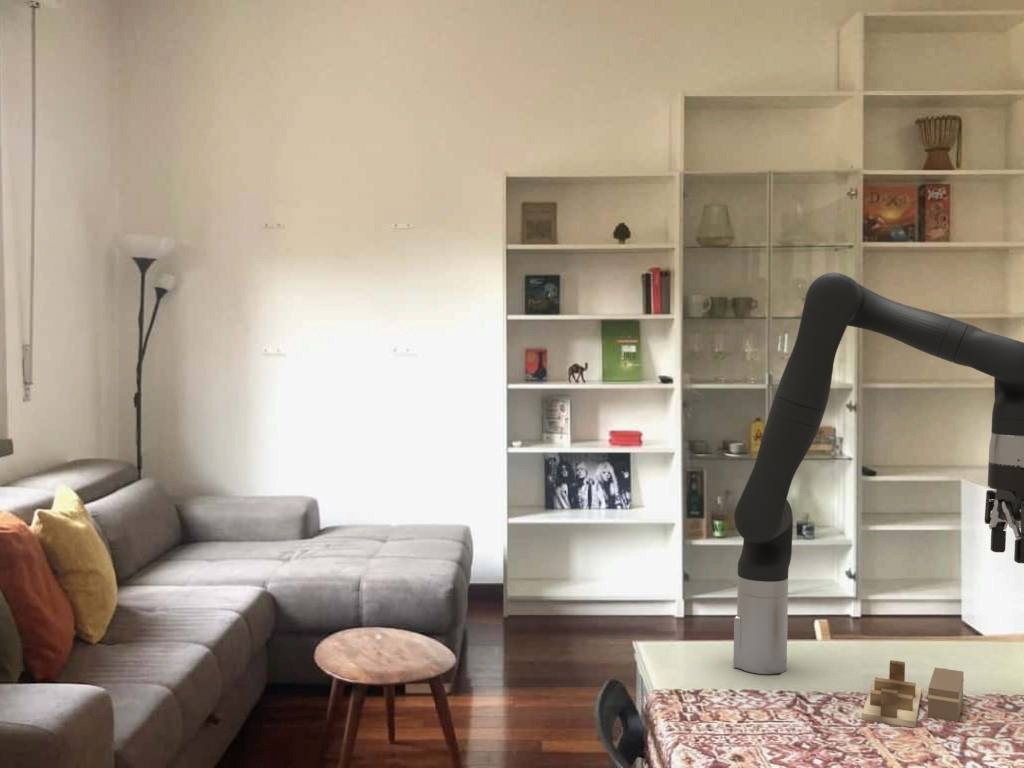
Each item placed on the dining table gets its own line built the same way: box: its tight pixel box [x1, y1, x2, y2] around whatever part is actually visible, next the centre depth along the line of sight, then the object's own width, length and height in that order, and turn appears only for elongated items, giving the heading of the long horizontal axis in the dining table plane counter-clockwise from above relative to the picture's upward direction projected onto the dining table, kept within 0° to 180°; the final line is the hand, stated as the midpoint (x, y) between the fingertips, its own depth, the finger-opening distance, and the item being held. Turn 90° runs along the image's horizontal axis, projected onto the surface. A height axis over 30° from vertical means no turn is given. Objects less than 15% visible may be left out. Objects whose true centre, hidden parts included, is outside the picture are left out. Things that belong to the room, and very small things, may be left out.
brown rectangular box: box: [927, 667, 965, 723], centre depth 162 cm, size 5×12×5 cm, turn 152°
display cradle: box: [861, 660, 923, 729], centre depth 163 cm, size 8×18×5 cm, turn 154°
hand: (1009, 557), depth 163 cm, fingers open, 8 cm apart
